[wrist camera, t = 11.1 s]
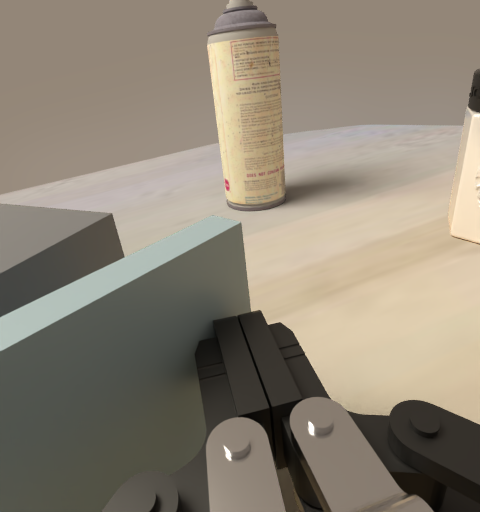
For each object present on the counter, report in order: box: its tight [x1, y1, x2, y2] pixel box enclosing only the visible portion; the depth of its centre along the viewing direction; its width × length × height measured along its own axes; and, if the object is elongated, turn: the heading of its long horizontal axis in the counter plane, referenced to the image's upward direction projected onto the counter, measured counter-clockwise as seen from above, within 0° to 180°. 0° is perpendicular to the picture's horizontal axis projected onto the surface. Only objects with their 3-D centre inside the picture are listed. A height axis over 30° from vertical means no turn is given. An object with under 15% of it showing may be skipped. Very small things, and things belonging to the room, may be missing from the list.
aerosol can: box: [207, 0, 286, 211], centre depth 37 cm, size 7×7×20 cm
